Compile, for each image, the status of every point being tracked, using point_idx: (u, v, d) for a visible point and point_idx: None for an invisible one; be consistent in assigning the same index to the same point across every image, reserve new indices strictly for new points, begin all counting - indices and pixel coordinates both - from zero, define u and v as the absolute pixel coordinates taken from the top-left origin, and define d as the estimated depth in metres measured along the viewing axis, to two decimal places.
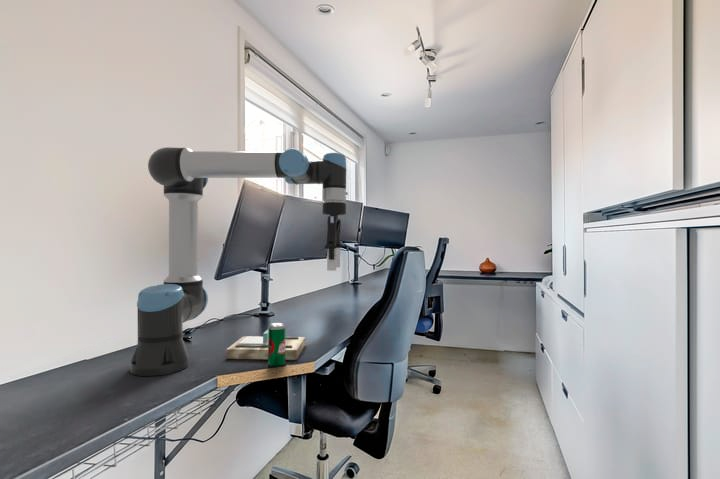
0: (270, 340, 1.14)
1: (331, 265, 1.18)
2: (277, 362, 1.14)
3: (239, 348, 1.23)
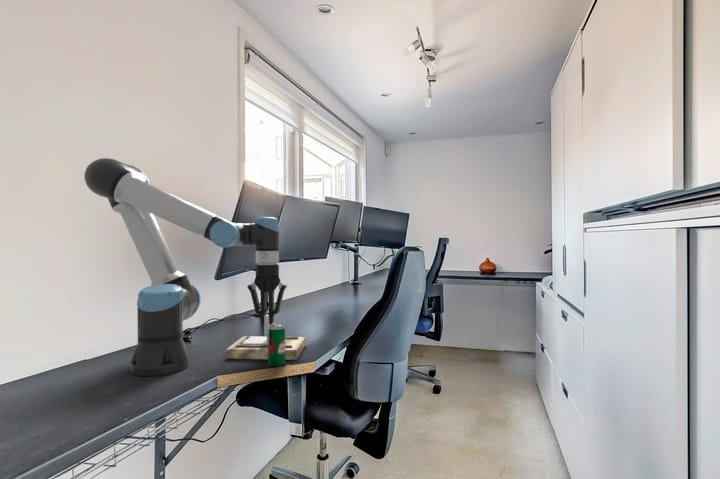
0: (270, 340, 1.14)
1: None
2: (277, 362, 1.14)
3: (239, 348, 1.23)
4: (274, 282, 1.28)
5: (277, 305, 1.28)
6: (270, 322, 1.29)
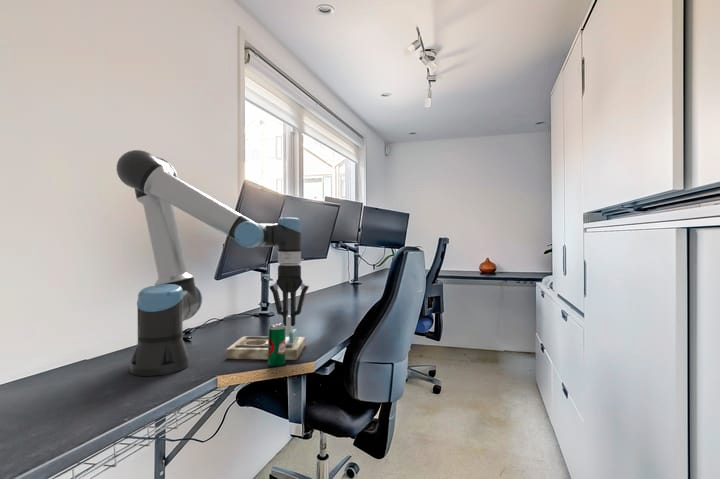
0: (270, 340, 1.14)
1: None
2: (277, 362, 1.14)
3: (239, 348, 1.23)
4: (296, 283, 1.28)
5: (299, 306, 1.28)
6: (292, 323, 1.29)
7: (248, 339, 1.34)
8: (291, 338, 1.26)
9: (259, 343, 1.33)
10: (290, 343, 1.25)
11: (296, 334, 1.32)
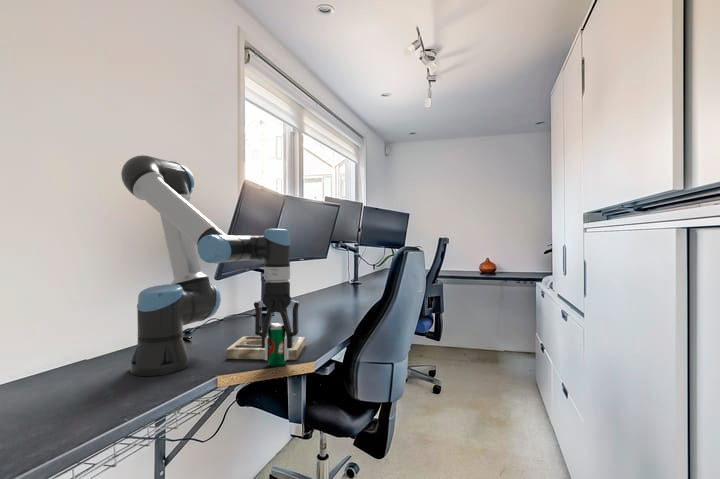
0: (270, 340, 1.14)
1: None
2: (277, 362, 1.14)
3: (239, 348, 1.23)
4: (285, 302, 1.15)
5: (294, 326, 1.15)
6: (288, 345, 1.16)
7: (248, 339, 1.34)
8: None
9: (259, 343, 1.33)
10: None
11: None
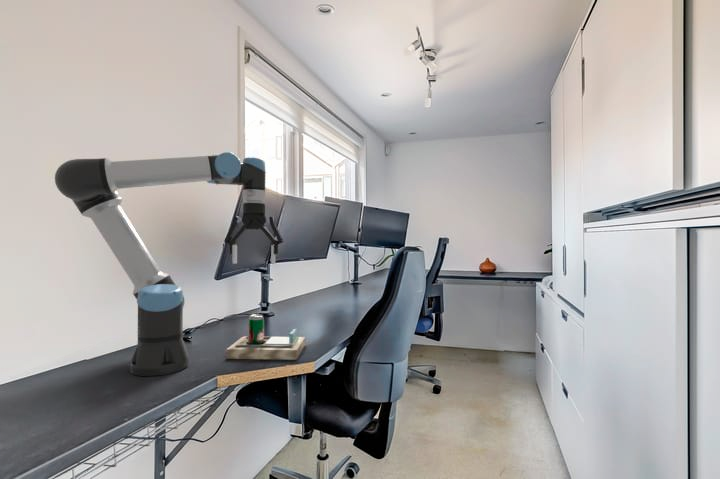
0: (250, 330, 1.28)
1: None
2: None
3: (239, 348, 1.23)
4: (261, 220, 1.36)
5: (277, 235, 1.35)
6: (275, 251, 1.36)
7: None
8: (291, 338, 1.26)
9: None
10: (290, 343, 1.25)
11: (296, 334, 1.32)
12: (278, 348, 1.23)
